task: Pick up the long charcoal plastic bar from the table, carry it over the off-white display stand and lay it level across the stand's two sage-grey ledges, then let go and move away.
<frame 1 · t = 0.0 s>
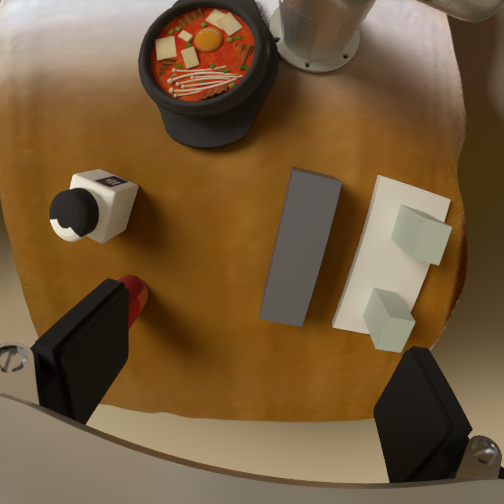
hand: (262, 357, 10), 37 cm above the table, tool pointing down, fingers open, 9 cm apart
casserole: (212, 64, 40), on the table
stand: (390, 262, 46), on the table
bar: (296, 239, 47), on the table
coffee cup: (133, 291, 52), on the table
container: (113, 198, 47), on the table
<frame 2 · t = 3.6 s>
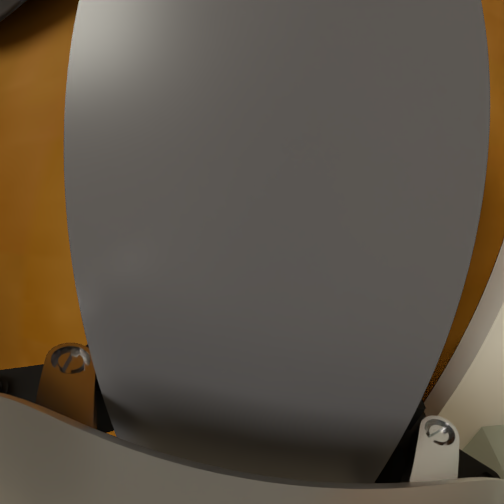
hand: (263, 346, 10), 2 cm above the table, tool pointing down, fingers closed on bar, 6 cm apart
bar: (267, 315, 12), on the table, touching gripper
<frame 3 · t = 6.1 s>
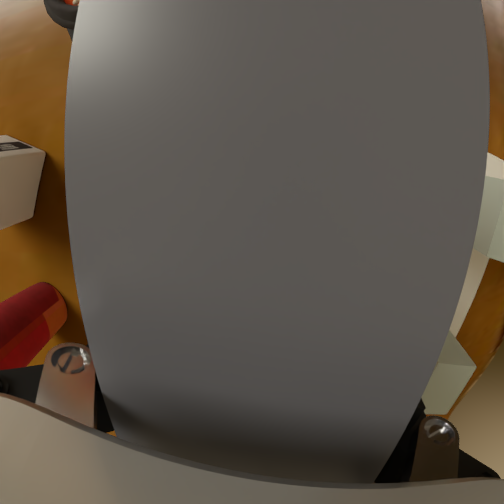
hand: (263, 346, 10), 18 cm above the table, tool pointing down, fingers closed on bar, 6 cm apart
stand: (428, 265, 27), on the table
bar: (267, 315, 12), point 16 cm above the table, touching gripper
coffee cup: (50, 304, 33), on the table
container: (19, 174, 29), on the table
when the fingers open (14 cm above the table, at t = 9.0 s): bar drops 1 cm, resting on stand.
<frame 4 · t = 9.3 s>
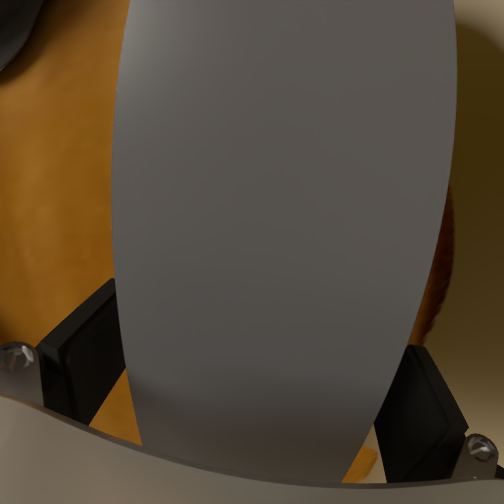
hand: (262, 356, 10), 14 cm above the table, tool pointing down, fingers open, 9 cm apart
bar: (266, 300, 14), point 10 cm above the table, touching stand
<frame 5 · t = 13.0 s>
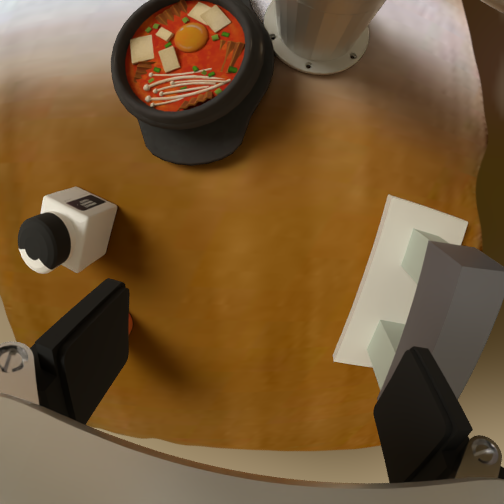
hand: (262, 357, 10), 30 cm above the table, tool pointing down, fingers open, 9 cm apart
casserole: (198, 66, 34), on the table
stand: (399, 291, 41), on the table
bar: (426, 331, 31), point 10 cm above the table, touching stand
container: (91, 219, 42), on the table
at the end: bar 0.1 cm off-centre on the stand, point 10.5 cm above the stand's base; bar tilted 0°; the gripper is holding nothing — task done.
